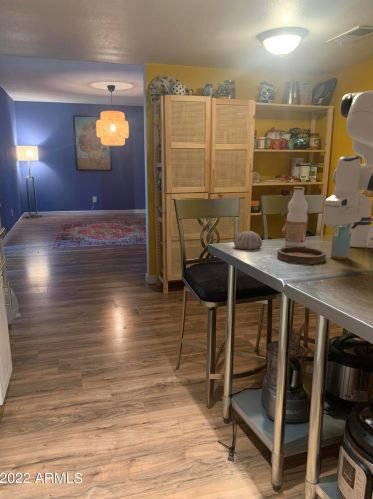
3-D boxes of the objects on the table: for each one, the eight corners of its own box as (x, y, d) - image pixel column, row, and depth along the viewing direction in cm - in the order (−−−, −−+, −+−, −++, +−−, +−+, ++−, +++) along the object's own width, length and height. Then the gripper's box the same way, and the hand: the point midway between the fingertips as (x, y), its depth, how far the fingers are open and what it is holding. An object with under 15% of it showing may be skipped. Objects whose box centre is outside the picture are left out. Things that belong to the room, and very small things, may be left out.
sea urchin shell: (264, 251, 172) (265, 233, 170) (234, 250, 173) (234, 233, 171) (260, 245, 185) (261, 228, 183) (232, 244, 186) (232, 228, 184)
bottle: (347, 260, 156) (351, 224, 153) (329, 258, 160) (332, 223, 156) (349, 257, 162) (353, 222, 159) (331, 255, 166) (335, 221, 162)
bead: (339, 238, 152) (340, 225, 151) (351, 241, 148) (352, 227, 147) (331, 240, 149) (332, 226, 148) (343, 242, 145) (344, 228, 144)
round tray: (296, 251, 173) (297, 245, 172) (334, 259, 158) (334, 253, 157) (268, 256, 162) (268, 250, 161) (305, 266, 147) (306, 259, 146)
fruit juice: (292, 248, 179) (296, 187, 173) (281, 244, 188) (285, 186, 182) (309, 246, 182) (314, 187, 176) (297, 243, 191) (301, 186, 185)
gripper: (352, 197, 154) (349, 231, 157) (322, 200, 142) (319, 237, 145) (367, 198, 149) (363, 233, 152) (337, 202, 137) (333, 239, 140)
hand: (341, 235), depth 148 cm, fingers closed on bead, 5 cm apart
